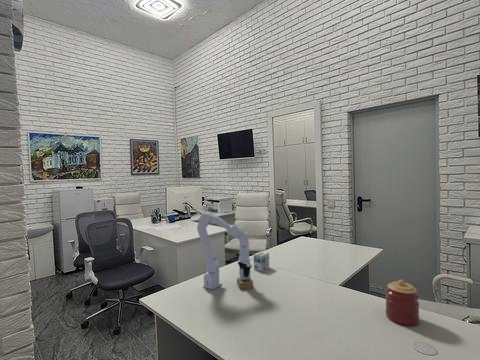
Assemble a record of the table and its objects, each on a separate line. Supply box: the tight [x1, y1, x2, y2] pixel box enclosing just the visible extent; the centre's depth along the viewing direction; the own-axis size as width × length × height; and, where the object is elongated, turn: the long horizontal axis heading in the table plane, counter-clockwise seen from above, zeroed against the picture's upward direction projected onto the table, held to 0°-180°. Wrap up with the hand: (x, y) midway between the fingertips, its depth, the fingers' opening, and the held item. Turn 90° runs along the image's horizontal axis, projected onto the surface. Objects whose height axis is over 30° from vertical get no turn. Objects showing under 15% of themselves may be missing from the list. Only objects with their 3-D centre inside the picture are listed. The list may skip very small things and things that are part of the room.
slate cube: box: [238, 267, 251, 280], centre depth 158 cm, size 5×5×5 cm
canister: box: [385, 279, 420, 327], centre depth 119 cm, size 13×13×18 cm
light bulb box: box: [253, 250, 270, 272], centre depth 187 cm, size 11×7×11 cm, turn 143°
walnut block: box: [236, 277, 254, 290], centre depth 158 cm, size 8×8×4 cm
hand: (244, 275), depth 158 cm, fingers closed on slate cube, 5 cm apart
